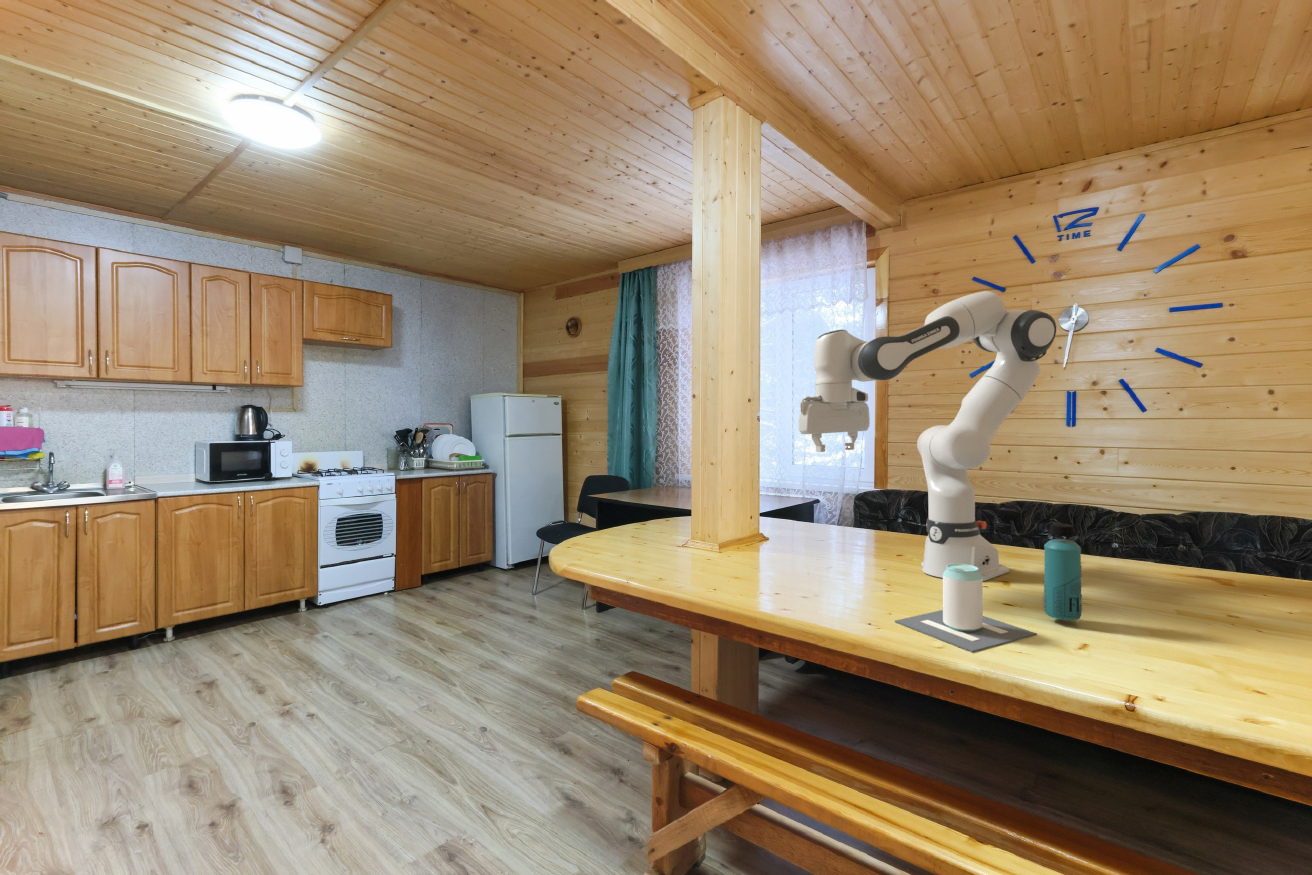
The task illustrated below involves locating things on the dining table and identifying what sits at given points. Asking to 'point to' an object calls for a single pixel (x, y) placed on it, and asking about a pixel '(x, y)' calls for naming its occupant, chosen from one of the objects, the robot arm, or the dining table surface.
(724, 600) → the dining table surface
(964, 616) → the can
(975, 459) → the robot arm
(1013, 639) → the letter mat
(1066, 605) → the beverage bottle
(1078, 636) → the dining table surface
